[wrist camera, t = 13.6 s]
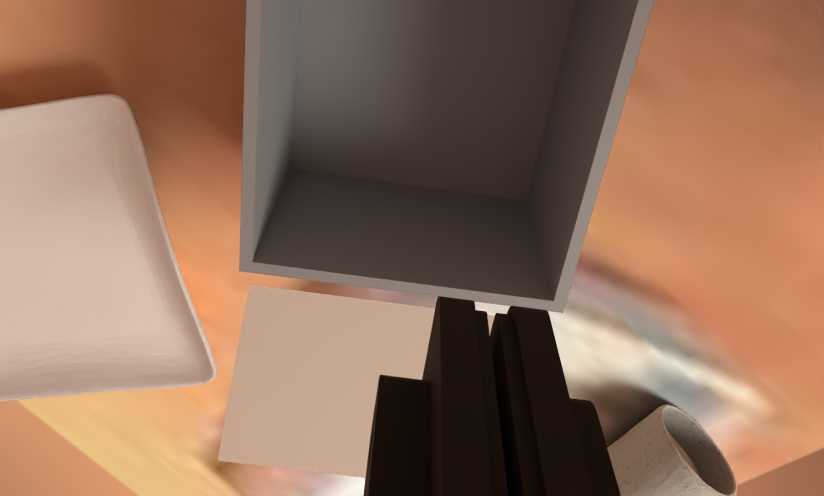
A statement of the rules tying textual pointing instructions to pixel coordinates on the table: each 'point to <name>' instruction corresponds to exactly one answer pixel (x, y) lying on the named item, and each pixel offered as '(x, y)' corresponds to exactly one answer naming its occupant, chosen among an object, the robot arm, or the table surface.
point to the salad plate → (88, 259)
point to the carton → (431, 141)
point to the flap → (316, 377)
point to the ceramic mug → (670, 458)
